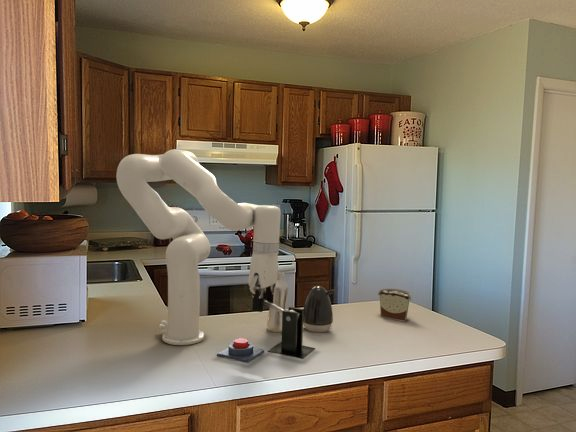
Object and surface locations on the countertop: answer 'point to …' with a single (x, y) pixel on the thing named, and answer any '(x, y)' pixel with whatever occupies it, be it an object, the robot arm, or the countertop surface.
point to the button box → (241, 353)
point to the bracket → (292, 335)
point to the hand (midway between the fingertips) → (262, 307)
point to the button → (241, 343)
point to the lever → (275, 306)
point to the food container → (394, 303)
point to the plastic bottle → (278, 304)
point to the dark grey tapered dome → (318, 310)
